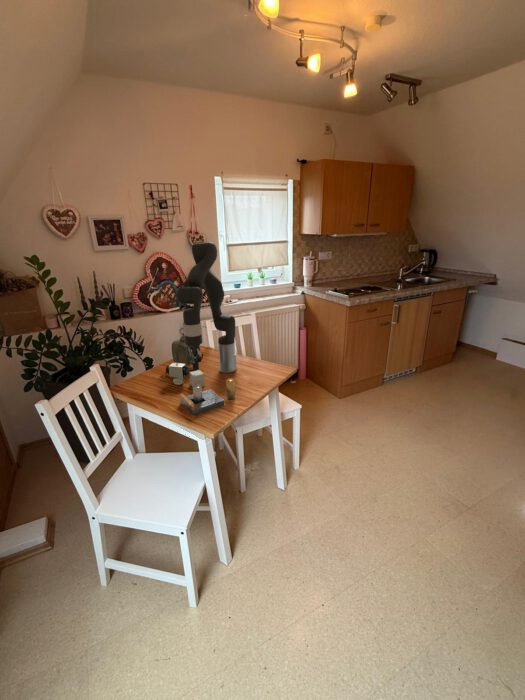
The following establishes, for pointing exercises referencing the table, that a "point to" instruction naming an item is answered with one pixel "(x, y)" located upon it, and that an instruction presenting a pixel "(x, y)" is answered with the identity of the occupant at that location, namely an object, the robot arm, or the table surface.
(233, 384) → the brass bushing
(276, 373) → the table surface
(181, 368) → the pneumatic valve
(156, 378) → the table surface
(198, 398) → the translucent grey cylinder
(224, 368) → the robot arm
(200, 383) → the skincare box
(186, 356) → the olive green lantern
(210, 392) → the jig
